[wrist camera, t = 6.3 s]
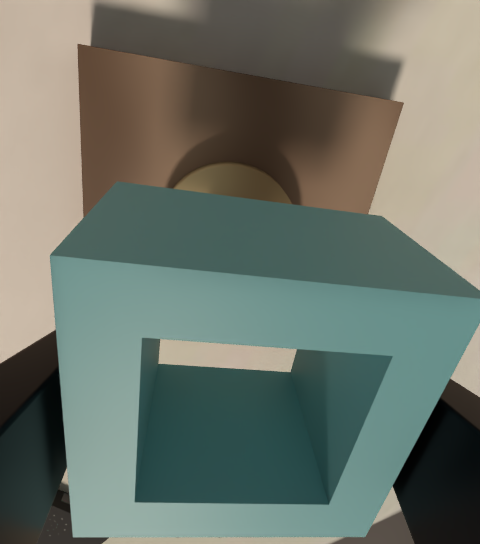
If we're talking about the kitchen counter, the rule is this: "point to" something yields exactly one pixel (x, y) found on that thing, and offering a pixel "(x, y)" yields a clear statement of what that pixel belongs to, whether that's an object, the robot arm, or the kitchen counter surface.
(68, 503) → the smart home device
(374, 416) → the collar
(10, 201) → the kitchen counter surface
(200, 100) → the stand
